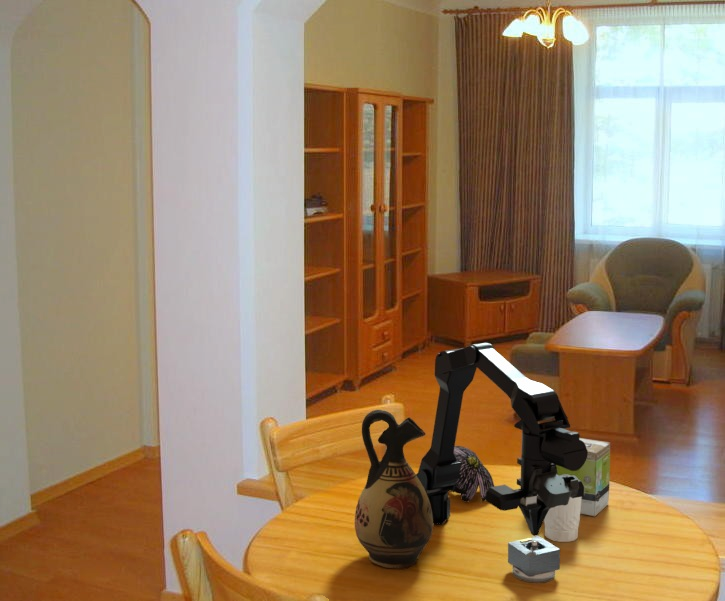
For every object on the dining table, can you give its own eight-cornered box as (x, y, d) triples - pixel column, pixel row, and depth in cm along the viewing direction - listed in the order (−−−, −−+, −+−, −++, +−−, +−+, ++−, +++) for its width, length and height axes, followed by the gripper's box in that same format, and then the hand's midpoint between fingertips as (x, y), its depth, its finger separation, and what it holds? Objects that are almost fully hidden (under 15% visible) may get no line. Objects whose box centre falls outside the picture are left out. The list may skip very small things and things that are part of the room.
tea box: (609, 504, 222) (612, 441, 220) (594, 518, 214) (597, 453, 212) (547, 491, 230) (549, 431, 228) (530, 505, 222) (532, 442, 220)
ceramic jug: (430, 543, 201) (432, 401, 196) (434, 576, 185) (436, 423, 181) (348, 542, 201) (347, 401, 196) (344, 575, 186) (344, 422, 181)
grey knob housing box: (528, 576, 182) (528, 555, 181) (508, 562, 188) (508, 541, 187) (559, 569, 184) (560, 548, 184) (538, 555, 191) (538, 534, 190)
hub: (508, 579, 184) (509, 546, 183) (517, 562, 191) (517, 530, 190) (551, 585, 181) (552, 552, 180) (558, 568, 189) (559, 536, 188)
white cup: (580, 545, 200) (582, 498, 198) (541, 542, 201) (542, 495, 200) (580, 530, 207) (581, 485, 206) (542, 527, 209) (543, 482, 207)
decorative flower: (460, 469, 217) (435, 432, 229) (440, 512, 220) (416, 473, 233) (514, 478, 223) (486, 441, 235) (493, 519, 226) (467, 481, 239)
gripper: (518, 476, 172) (516, 560, 174) (604, 461, 179) (601, 542, 182) (485, 457, 182) (483, 537, 184) (567, 444, 189) (565, 521, 192)
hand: (534, 534), depth 185 cm, fingers closed
